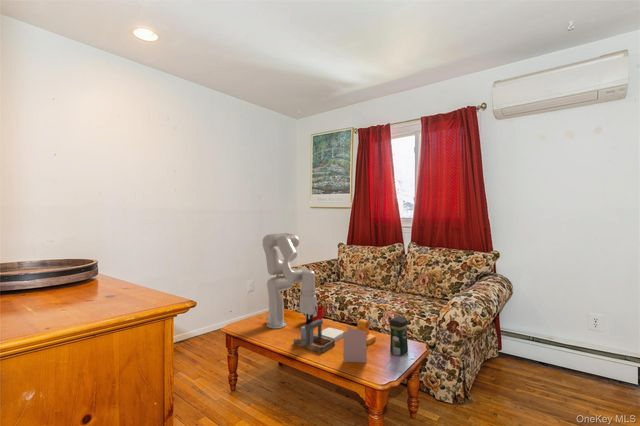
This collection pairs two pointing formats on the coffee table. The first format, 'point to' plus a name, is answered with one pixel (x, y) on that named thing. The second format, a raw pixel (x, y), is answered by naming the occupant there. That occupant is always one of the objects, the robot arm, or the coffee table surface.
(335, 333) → the plinth
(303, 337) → the block
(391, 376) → the coffee table surface
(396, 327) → the coffee jar
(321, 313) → the ceramic cup
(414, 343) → the coffee table surface
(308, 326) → the grey arch
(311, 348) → the rack
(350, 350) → the greeting card
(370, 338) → the bracket
